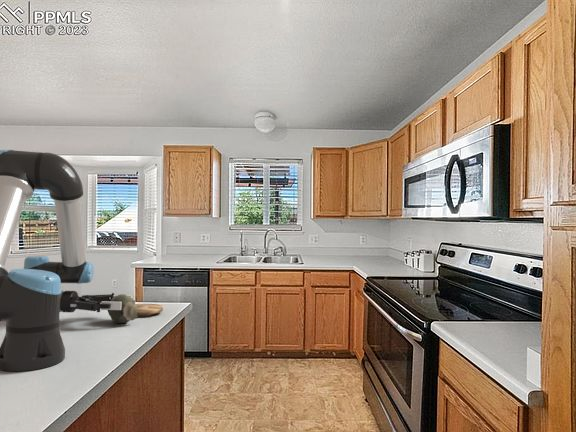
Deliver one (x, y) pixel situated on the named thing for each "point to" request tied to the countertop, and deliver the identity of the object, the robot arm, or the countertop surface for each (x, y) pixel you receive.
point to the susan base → (146, 315)
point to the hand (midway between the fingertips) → (126, 302)
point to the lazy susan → (148, 308)
